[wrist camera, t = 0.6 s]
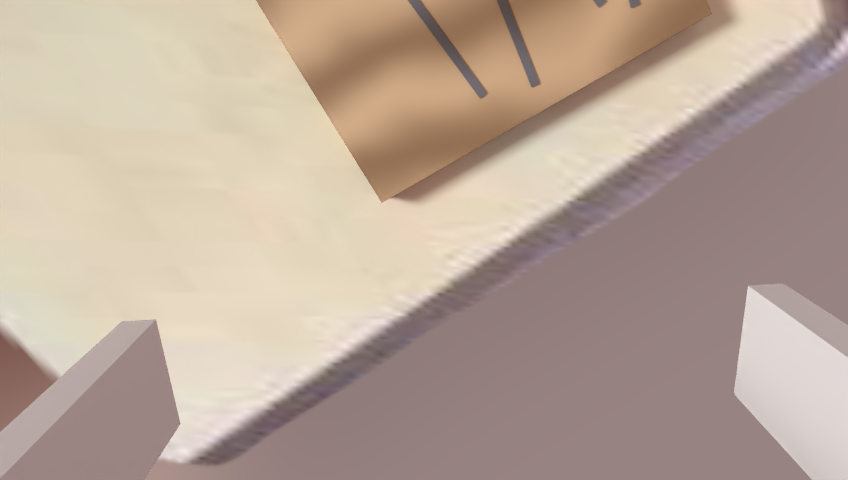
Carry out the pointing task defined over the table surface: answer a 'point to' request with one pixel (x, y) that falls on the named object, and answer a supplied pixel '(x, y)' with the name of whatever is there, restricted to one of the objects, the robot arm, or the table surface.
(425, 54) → the board
